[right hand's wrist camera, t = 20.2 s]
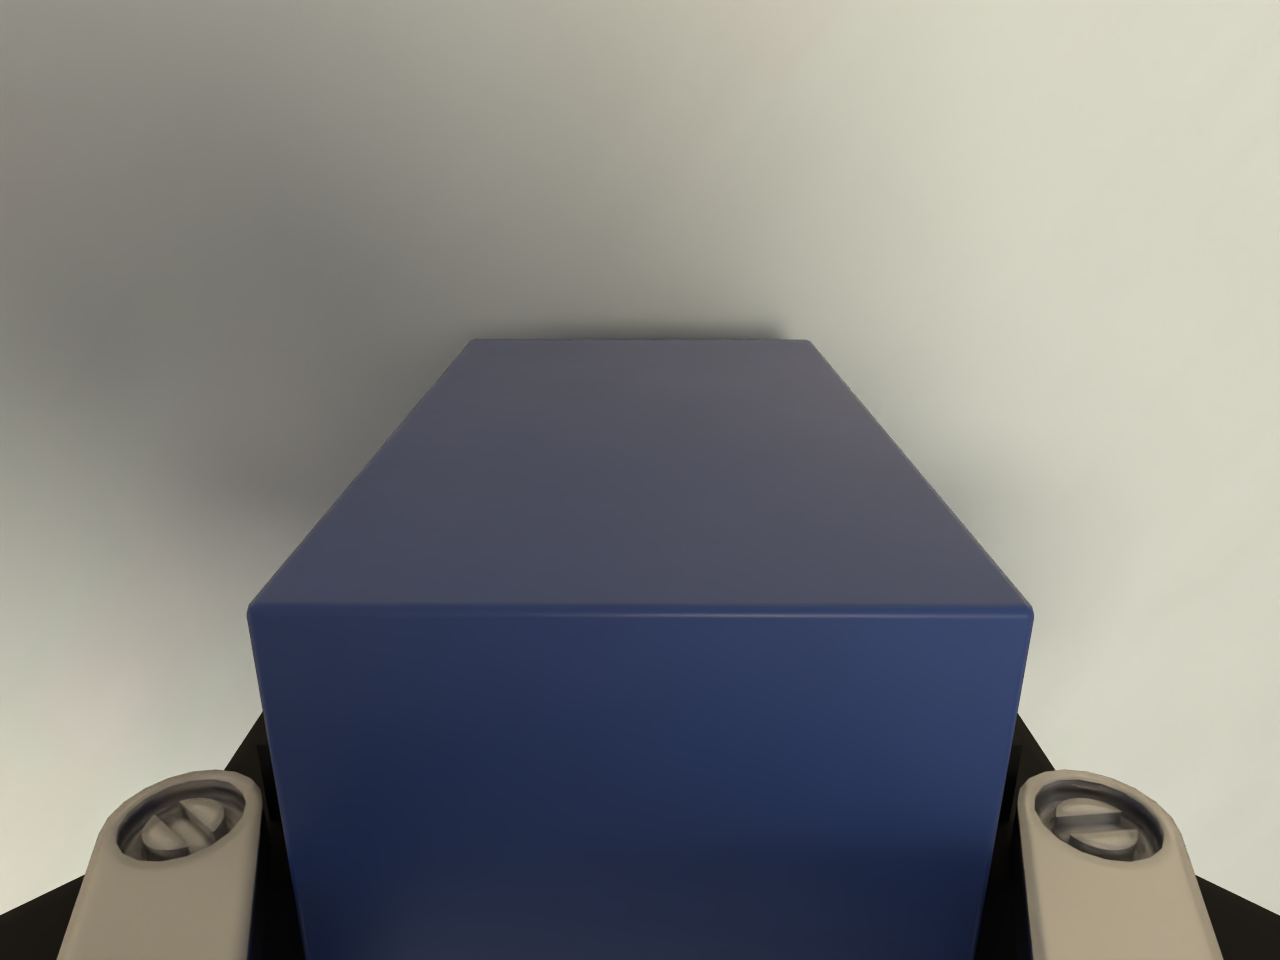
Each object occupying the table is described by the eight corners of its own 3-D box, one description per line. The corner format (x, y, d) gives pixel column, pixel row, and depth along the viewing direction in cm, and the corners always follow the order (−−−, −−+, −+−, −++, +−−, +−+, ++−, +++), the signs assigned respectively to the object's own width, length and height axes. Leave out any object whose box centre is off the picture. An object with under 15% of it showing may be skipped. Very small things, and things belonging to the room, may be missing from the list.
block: (496, 734, 16) (358, 1298, 8) (470, 338, 14) (241, 607, 6) (783, 735, 16) (918, 1299, 8) (810, 338, 14) (1041, 608, 6)
